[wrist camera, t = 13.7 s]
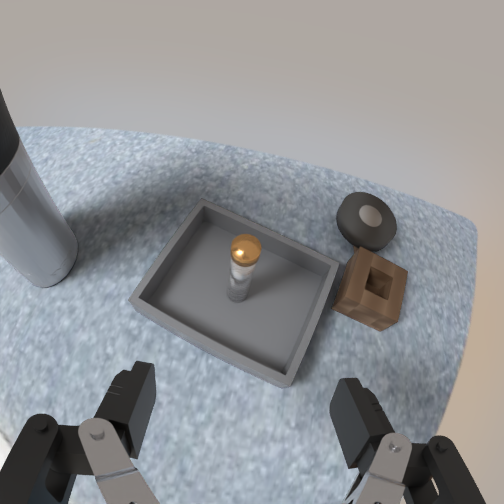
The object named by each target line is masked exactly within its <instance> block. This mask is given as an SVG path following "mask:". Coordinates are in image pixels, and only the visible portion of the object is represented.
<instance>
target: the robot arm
mask: <svg viewBox="0 0 504 504" xmlns="http://www.w3.org/2000/svg"><path fill="white" fill-rule="evenodd" d="M77 252H78V244H77V239H76V237H75V235H74V233H73V232H72V230H71V228H70V227H69V225H68V224H67V222H66V221H65V219H64V217H63V216H62V214H61V212H60V211H59V209H58V208H57V206H56V204H55V203H54V201H53V199H52V197H51V196H50V194H49V192H48V191H47V189H46V187H45V185H44V184H43V182H42V180H41V178H40V176H39V174H38V173H37V171H36V169H35V167H34V165H33V163H32V161H31V159H30V157H29V156H28V154H27V152H26V149H25V147H24V145H23V143H22V141H21V139H20V137H19V134H18V132H17V130H16V128H15V126H14V123H13V121H12V119H11V117H10V114H9V111H8V109H7V106H6V104H5V101H4V98H3V95H2V92H1V90H0V255H1V256H2V257H3V258H4V259H5V260H6V261H7V262H8V263H9V264H10V265H11V266H12V267H13V268H14V269H15V270H17V271H18V272H19V273H20V274H21V275H22V276H23V277H24V278H25V279H27V280H28V281H29V282H30V283H31V284H33V285H35V286H37V287H49V286H52V285H54V284H56V283H58V282H60V281H61V280H62V279H63V278H64V277H65V276H66V275H67V274H68V273H69V271H70V270H71V268H72V267H73V265H74V262H75V260H76V256H77ZM155 399H156V381H155V368H154V364H152V363H146V362H141V361H136V362H135V364H134V366H133V368H132V370H131V371H127V370H123V371H121V372H120V373H119V374H117V375H116V376H115V377H114V379H113V381H112V383H111V386H110V387H109V389H108V391H107V393H106V395H105V396H104V398H103V400H102V402H101V404H100V406H99V408H98V410H97V412H96V414H95V416H94V418H91V419H87V420H85V421H84V422H83V423H81V425H80V426H68V425H58V424H57V422H56V420H55V419H54V418H53V417H52V416H50V415H47V414H36V415H33V416H32V417H30V418H29V419H28V420H27V422H26V424H25V426H24V427H23V429H22V431H21V433H20V434H19V436H18V438H17V440H16V442H15V444H14V445H13V447H12V449H11V451H10V453H9V455H8V457H7V459H6V461H5V463H4V465H3V467H2V469H1V471H0V504H68V501H69V498H70V495H71V491H72V488H73V485H74V482H75V479H76V476H77V474H79V475H95V479H96V482H97V484H98V486H99V489H100V491H101V493H102V495H103V497H104V499H105V501H106V503H107V504H160V503H159V502H158V500H157V499H156V497H155V496H154V494H153V493H152V491H151V490H150V488H149V487H148V485H147V483H146V482H145V480H144V478H143V477H142V475H141V474H140V472H139V471H138V469H137V468H135V467H134V465H133V463H132V462H131V460H130V458H134V459H138V456H139V452H140V449H141V446H142V442H143V439H144V436H145V432H146V429H147V426H148V423H149V419H150V416H151V413H152V410H153V407H154V404H155ZM330 416H331V419H332V422H333V425H334V428H335V430H336V433H337V436H338V439H339V442H340V445H341V448H342V451H343V454H344V457H345V460H346V463H347V466H348V469H351V468H358V469H359V473H358V474H357V476H356V478H355V479H354V481H353V483H352V485H351V487H350V489H349V491H348V493H347V494H346V496H345V498H344V500H343V501H342V503H341V504H400V501H401V498H402V495H403V496H404V499H405V501H406V504H486V503H485V501H484V499H483V497H482V495H481V493H480V491H479V489H478V487H477V485H476V483H475V482H474V480H473V478H472V476H471V474H470V472H469V470H468V468H467V466H466V465H465V463H464V461H463V459H462V457H461V456H460V454H459V452H458V450H457V449H456V447H455V445H454V443H453V442H452V441H451V440H450V439H449V438H447V437H445V436H434V437H432V438H431V439H430V441H429V442H428V443H427V444H419V443H411V442H410V440H409V439H408V438H407V437H406V436H404V435H402V434H399V433H395V431H394V430H393V428H392V426H391V424H390V422H389V420H388V418H387V416H386V415H385V413H384V411H382V407H381V405H380V404H379V402H378V400H377V398H376V396H375V395H374V394H373V393H372V392H371V391H370V390H369V389H367V388H363V387H362V385H361V383H360V381H359V379H358V378H342V379H340V380H339V382H338V385H337V387H336V390H335V392H334V395H333V398H332V400H331V403H330ZM432 478H433V479H434V481H435V483H436V485H437V488H438V490H439V496H438V494H437V492H436V489H435V487H434V485H433V482H432V480H431V479H432Z"/></svg>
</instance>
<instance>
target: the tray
mask: <svg viewBox="0 0 504 504" xmlns="http://www.w3.org/2000/svg"><path fill="white" fill-rule="evenodd" d="M241 234H250V235H253V236H255V237H256V238H257V239H258V240H259V241H260V243H261V247H262V249H261V253H260V256H259V259H258V261H257V263H256V266H255V269H254V273H253V276H252V280H251V283H250V286H249V290H248V293H247V297H246V299H245V300H244V301H242V302H240V303H235V302H232V301H231V300H230V299H229V298H228V296H227V288H228V279H229V271H230V262H231V255H230V252H231V244H232V241H233V240H234V238H235V237H237V236H238V235H241ZM338 266H339V262H337V261H334V260H332V259H330V258H328V257H326V256H324V255H322V254H320V253H318V252H316V251H314V250H312V249H310V248H308V247H306V246H304V245H301V244H299V243H297V242H295V241H293V240H291V239H289V238H287V237H285V236H283V235H280V234H278V233H276V232H274V231H272V230H270V229H268V228H266V227H263V226H261V225H259V224H257V223H255V222H253V221H250V220H248V219H246V218H244V217H242V216H240V215H237V214H235V213H233V212H231V211H229V210H226V209H224V208H222V207H220V206H218V205H215V204H213V203H211V202H209V201H206V200H204V199H202V198H201V200H200V201H199V202H198V203H197V205H196V206H195V207H194V209H193V210H192V211H191V212H190V214H189V215H188V216H187V218H186V219H185V220H184V222H183V223H182V224H181V226H180V227H179V228H178V230H177V231H176V232H175V234H174V235H173V236H172V238H171V239H170V240H169V242H168V243H167V245H166V246H165V247H164V249H163V250H162V251H161V253H160V254H159V256H158V257H157V258H156V260H155V261H154V263H153V264H152V266H151V267H150V268H149V270H148V271H147V273H146V274H145V276H144V277H143V278H142V280H141V281H140V283H139V284H138V286H137V287H136V289H135V290H134V292H133V293H132V295H131V296H130V298H129V299H128V301H129V302H130V304H131V305H132V306H133V307H134V309H135V310H136V311H137V312H138V313H140V314H142V315H143V316H145V317H146V318H148V319H150V320H151V321H153V322H155V323H156V324H158V325H160V326H161V327H163V328H165V329H166V330H168V331H170V332H171V333H173V334H175V335H177V336H178V337H180V338H182V339H184V340H185V341H187V342H189V343H191V344H193V345H194V346H196V347H198V348H200V349H202V350H204V351H205V352H207V353H209V354H211V355H213V356H215V357H217V358H219V359H221V360H223V361H225V362H227V363H229V364H231V365H233V366H235V367H237V368H239V369H241V370H243V371H245V372H247V373H249V374H251V375H253V376H255V377H258V378H260V379H262V380H264V381H266V382H268V383H271V384H273V385H275V386H277V387H280V388H286V387H290V386H291V383H292V381H293V379H294V377H295V375H296V372H297V370H298V368H299V366H300V363H301V361H302V359H303V356H304V354H305V352H306V349H307V347H308V345H309V342H310V340H311V337H312V335H313V333H314V330H315V328H316V325H317V323H318V320H319V318H320V315H321V313H322V310H323V307H324V305H325V302H326V299H327V297H328V294H329V291H330V289H331V286H332V283H333V280H334V278H335V275H336V272H337V269H338Z"/></svg>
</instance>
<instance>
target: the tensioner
mask: <svg viewBox="0 0 504 504" xmlns="http://www.w3.org/2000/svg"><path fill="white" fill-rule="evenodd" d="M336 219H337V225H338V228H339V230H340V232H341V233H342V235H343V236H344V238H345V239H346V240H347V241H348V242H349V243H351V244H352V245H353V247H354V255H353V256H352V257H351V259H350V260H349V261H348V262H347V266H346V269H345V272H344V275H343V278H342V281H341V283H340V286H339V289H338V292H337V295H336V298H335V300H334V303H333V306H332V309H333V310H335V311H337V312H339V313H342V314H344V315H346V316H348V317H350V318H352V319H354V320H357V321H359V322H361V323H363V324H365V325H367V326H369V327H372V328H374V329H376V330H378V331H382V330H384V329H386V328H388V327H390V326H391V325H393V324H395V323H397V322H398V319H399V314H400V310H401V305H402V300H403V295H404V290H405V285H406V279H407V273H408V271H406V270H405V269H403V268H401V267H399V266H397V265H395V264H393V263H392V262H390V261H388V260H386V259H384V258H382V257H380V256H378V255H376V254H374V253H372V252H374V251H379V250H381V249H383V248H384V247H385V246H386V245H387V244H388V243H389V242H390V241H391V240H392V238H393V237H394V236H395V234H396V230H397V224H396V220H395V217H394V215H393V213H392V211H391V210H390V208H389V207H388V206H387V205H386V204H385V203H384V202H383V201H382V200H380V199H379V198H377V197H376V196H374V195H371V194H369V193H365V192H355V193H351V194H349V195H348V196H347V197H346V198H345V199H344V201H343V202H342V204H341V206H340V208H339V209H338V212H337V216H336Z"/></svg>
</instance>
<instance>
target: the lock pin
mask: <svg viewBox="0 0 504 504" xmlns="http://www.w3.org/2000/svg"><path fill="white" fill-rule="evenodd" d="M261 249H262V247H261V243H260V241H259V240H258V239H257V238H256V237H255V236H253V235H250V234H241V235H238V236H237V237H235V238H234V240H233V241H232V244H231V252H230V255H231V262H230V271H229V279H228V288H227V296H228V298H229V299H230V300H231V301H232V302H235V303H240V302H242V301H244V300H245V299H246V297H247V293H248V290H249V286H250V283H251V280H252V276H253V273H254V269H255V266H256V263H257V261H258V259H259V256H260V253H261Z"/></svg>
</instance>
